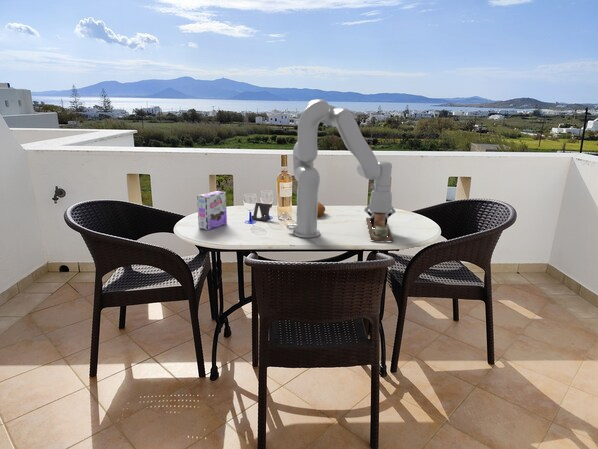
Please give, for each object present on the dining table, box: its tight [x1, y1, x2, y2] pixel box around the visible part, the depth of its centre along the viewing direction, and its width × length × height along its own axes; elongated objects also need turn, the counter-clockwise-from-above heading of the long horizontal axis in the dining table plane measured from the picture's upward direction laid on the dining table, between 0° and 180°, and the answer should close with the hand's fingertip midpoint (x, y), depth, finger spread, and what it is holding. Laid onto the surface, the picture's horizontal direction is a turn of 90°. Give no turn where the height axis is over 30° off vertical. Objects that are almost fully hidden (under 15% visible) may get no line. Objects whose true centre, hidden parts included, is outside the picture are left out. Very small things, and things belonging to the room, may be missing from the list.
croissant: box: [317, 201, 326, 218], centre depth 216 cm, size 14×16×8 cm
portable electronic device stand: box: [250, 201, 273, 222], centre depth 205 cm, size 9×8×8 cm
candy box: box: [196, 190, 228, 231], centre depth 189 cm, size 14×6×16 cm, turn 147°
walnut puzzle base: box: [365, 217, 394, 242], centre depth 189 cm, size 10×32×5 cm, turn 175°
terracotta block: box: [373, 213, 386, 228], centre depth 188 cm, size 5×5×7 cm
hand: (378, 225), depth 189 cm, fingers closed on terracotta block, 5 cm apart
